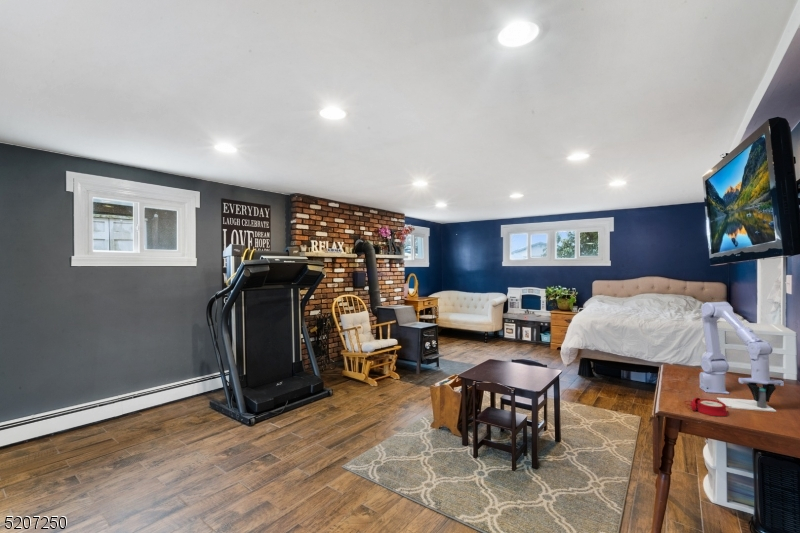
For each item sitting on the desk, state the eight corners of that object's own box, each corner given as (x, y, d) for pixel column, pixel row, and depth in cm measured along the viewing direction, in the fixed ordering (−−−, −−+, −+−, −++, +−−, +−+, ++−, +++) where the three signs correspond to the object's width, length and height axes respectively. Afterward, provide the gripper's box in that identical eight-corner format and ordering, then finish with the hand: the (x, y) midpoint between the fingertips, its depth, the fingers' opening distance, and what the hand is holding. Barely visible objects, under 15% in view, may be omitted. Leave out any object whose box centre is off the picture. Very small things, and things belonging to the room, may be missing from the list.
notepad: (729, 408, 162) (729, 406, 162) (716, 398, 174) (716, 397, 174) (776, 411, 157) (776, 410, 157) (760, 401, 168) (760, 400, 168)
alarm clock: (728, 411, 151) (684, 394, 162) (724, 425, 152) (680, 407, 163) (733, 404, 158) (690, 388, 169) (729, 417, 159) (686, 401, 170)
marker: (759, 407, 160) (758, 388, 160) (755, 404, 163) (754, 386, 163) (768, 408, 159) (767, 389, 159) (764, 405, 162) (763, 387, 162)
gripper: (743, 370, 160) (745, 402, 160) (787, 373, 155) (789, 405, 155) (735, 366, 167) (736, 397, 167) (777, 368, 162) (778, 399, 162)
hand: (761, 400), depth 161 cm, fingers closed on marker, 3 cm apart
